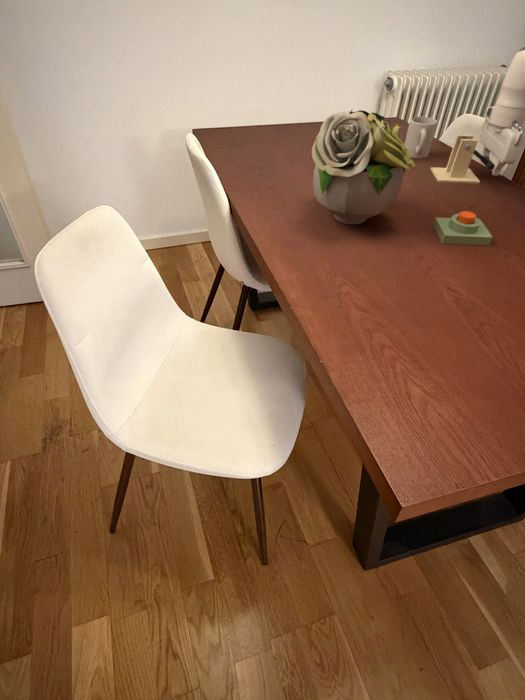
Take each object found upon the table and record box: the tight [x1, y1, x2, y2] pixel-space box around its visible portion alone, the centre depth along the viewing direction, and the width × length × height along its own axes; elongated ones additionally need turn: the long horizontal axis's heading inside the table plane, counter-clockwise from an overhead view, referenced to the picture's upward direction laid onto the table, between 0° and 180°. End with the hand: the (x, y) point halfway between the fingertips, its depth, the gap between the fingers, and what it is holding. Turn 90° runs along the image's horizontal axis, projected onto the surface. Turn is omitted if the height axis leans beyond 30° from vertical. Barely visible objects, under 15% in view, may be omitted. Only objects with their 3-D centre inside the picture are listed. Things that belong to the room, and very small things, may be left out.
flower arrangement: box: [311, 109, 416, 225], centre depth 95 cm, size 25×25×24 cm
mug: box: [404, 116, 438, 159], centre depth 131 cm, size 12×8×11 cm
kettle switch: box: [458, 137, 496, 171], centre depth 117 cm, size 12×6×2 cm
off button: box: [458, 210, 477, 224], centre depth 95 cm, size 4×4×2 cm
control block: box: [432, 213, 493, 246], centre depth 97 cm, size 11×9×4 cm
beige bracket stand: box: [430, 134, 481, 185], centre depth 118 cm, size 12×10×12 cm
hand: (489, 168), depth 120 cm, fingers open, 8 cm apart
